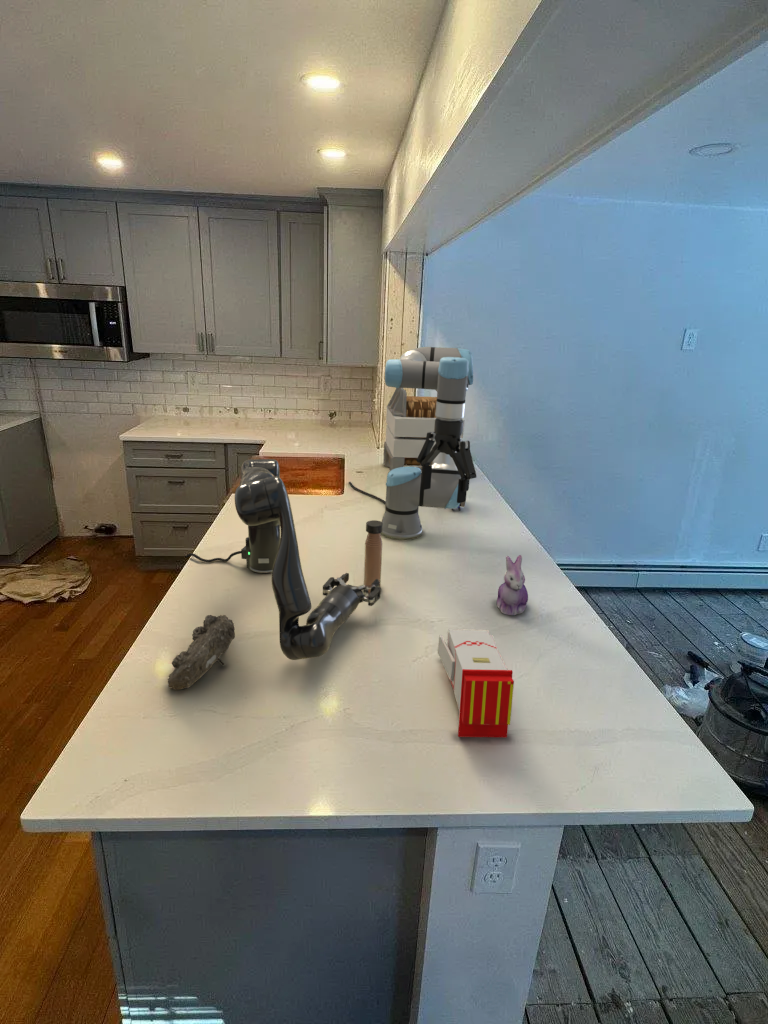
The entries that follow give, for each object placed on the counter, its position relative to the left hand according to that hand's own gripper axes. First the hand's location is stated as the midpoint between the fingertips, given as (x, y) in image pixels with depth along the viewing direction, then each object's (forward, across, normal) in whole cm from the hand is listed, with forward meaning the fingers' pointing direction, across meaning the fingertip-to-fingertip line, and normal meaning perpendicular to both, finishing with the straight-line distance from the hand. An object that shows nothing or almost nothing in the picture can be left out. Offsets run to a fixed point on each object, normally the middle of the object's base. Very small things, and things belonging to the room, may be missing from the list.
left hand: (362, 579), depth 151 cm
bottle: (+8, 0, +7) cm, 10 cm away
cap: (+8, 0, -13) cm, 15 cm away
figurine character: (+88, -5, +7) cm, 89 cm away
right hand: (+19, -16, -20) cm, 32 cm away
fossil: (-40, +20, +7) cm, 45 cm away
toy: (-26, -35, +7) cm, 45 cm away
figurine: (+13, -38, +7) cm, 41 cm away
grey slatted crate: (+129, +22, +7) cm, 132 cm away
